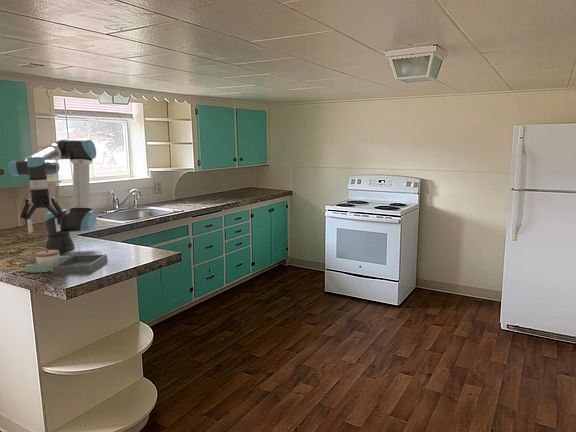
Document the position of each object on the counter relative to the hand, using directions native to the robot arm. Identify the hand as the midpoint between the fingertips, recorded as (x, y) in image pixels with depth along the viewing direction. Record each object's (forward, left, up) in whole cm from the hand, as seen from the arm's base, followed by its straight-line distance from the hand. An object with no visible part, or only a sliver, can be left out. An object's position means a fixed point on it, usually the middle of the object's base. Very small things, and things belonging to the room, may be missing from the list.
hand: (44, 231), depth 219 cm
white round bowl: (0, 0, -18) cm, 18 cm away
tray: (+18, -4, -18) cm, 26 cm away
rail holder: (0, 0, -18) cm, 18 cm away
